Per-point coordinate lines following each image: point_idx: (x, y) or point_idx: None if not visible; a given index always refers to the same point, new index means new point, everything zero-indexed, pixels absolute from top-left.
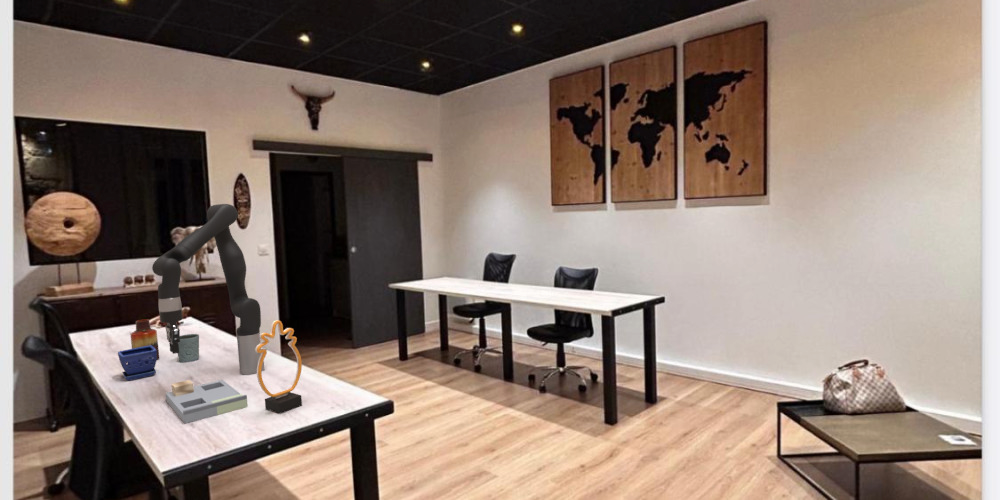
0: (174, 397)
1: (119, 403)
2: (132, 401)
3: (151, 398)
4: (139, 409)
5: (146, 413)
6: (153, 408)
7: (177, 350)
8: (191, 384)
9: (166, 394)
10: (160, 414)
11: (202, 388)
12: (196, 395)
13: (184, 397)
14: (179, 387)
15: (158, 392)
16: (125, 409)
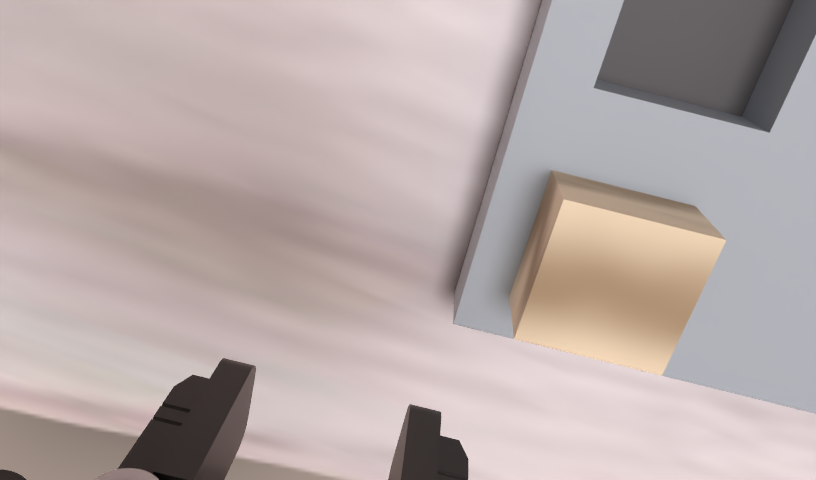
0: None
1: None
2: None
3: (294, 316)
4: (466, 444)
5: (595, 457)
6: (541, 401)
7: (464, 469)
8: (718, 250)
9: (503, 335)
10: (714, 432)
11: (676, 110)
12: (812, 240)
13: (745, 310)
14: (673, 338)
15: (182, 229)
16: (377, 476)
